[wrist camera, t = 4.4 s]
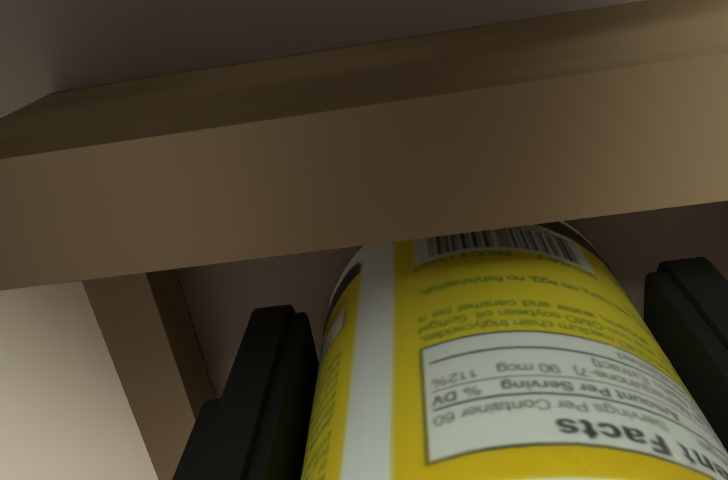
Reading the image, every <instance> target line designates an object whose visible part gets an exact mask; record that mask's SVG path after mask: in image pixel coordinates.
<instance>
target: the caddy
mask: <svg viewBox="0 0 728 480" xmlns="http://www.w3.org/2000/svg"><path fill="white" fill-rule="evenodd" d="M719 201H728V0H645V1H639V2H632V3H626V4H619V5H613V6H607V7H600V8H594V9H587V10H581V11H575V12H568V13H562V14H555V15H549V16H543V17H536V18H530V19H523V20H517V21H511V22H504V23H498V24H491V25H485V26H479V27H472V28H466V29H460V30H453V31H447V32H440V33H434V34H428V35H421V36H415V37H408V38H402V39H396V40H389V41H383V42H376V43H370V44H364V45H357V46H351V47H344V48H338V49H332V50H325V51H319V52H312V53H306V54H300V55H293V56H287V57H280V58H274V59H268V60H261V61H255V62H248V63H242V64H236V65H229V66H223V67H216V68H210V69H204V70H197V71H191V72H184V73H178V74H172V75H165V76H159V77H153V78H146V79H140V80H133V81H127V82H121V83H114V84H108V85H101V86H95V87H89V88H82V89H76V90H69V91H63V92H57V93H51V94H49V95H47V96H45V97H43V98H41V99H39V100H37V101H35V102H33V103H31V104H29V105H27V106H25V107H23V108H21V109H19V110H17V111H15V112H13V113H11V114H9V115H7V116H5V117H3V118H1V119H0V290H8V289H16V288H24V287H32V286H40V285H48V284H57V283H65V282H73V281H81V280H82V283H83V285H84V288H85V291H86V293H87V296H88V298H89V301H90V304H91V306H92V309H93V311H94V314H95V316H96V319H97V322H98V324H99V327H100V329H101V332H102V334H103V337H104V340H105V342H106V345H107V347H108V350H109V353H110V355H111V358H112V360H113V363H114V365H115V368H116V371H117V373H118V376H119V378H120V381H121V384H122V386H123V389H124V391H125V394H126V396H127V399H128V402H129V404H130V407H131V409H132V412H133V415H134V417H135V420H136V422H137V425H138V427H139V430H140V433H141V435H142V438H143V440H144V443H145V445H146V448H147V451H148V453H149V456H150V458H151V461H152V464H153V466H154V469H155V471H156V474H157V476H158V479H159V480H172V479H173V476H174V474H175V471H176V469H177V466H178V464H179V461H180V459H181V456H182V454H183V451H184V449H185V446H186V444H187V441H188V439H189V436H190V434H191V431H192V429H193V426H194V424H195V421H196V419H197V416H198V414H199V411H200V409H201V407H202V406H203V404H204V402H206V401H207V400H209V399H216V398H215V395H214V392H213V389H212V386H211V382H210V379H209V376H208V373H207V370H206V367H205V363H204V360H203V357H202V354H201V351H200V348H199V345H198V341H197V338H196V335H195V332H194V329H193V326H192V322H191V319H190V316H189V313H188V310H187V307H186V303H185V300H184V297H183V294H182V291H181V288H180V284H179V281H178V278H177V275H176V272H175V269H178V268H186V267H194V266H202V265H210V264H218V263H226V262H234V261H242V260H251V259H259V258H267V257H275V256H283V255H291V254H299V253H307V252H315V251H323V250H331V249H340V248H348V247H356V246H364V245H372V244H380V243H388V242H396V241H404V240H412V239H420V238H428V237H437V236H445V235H453V234H461V233H469V232H477V231H485V230H493V229H501V228H509V227H517V226H525V225H534V224H542V223H550V222H558V221H566V220H574V219H582V218H590V217H598V216H606V215H614V214H622V213H631V212H639V211H647V210H655V209H663V208H671V207H679V206H687V205H695V204H703V203H711V202H719Z"/></svg>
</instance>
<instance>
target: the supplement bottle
mask: <svg viewBox="0 0 728 480" xmlns="http://www.w3.org/2000/svg"><path fill="white" fill-rule="evenodd" d="M301 480H728V453H727V451H726V449H725V448H724V446H723V445H722V443H721V441H720V440H719V438H718V437H717V435H716V434H715V432H714V430H713V429H712V427H711V426H710V424H709V422H708V421H707V419H706V418H705V416H704V414H703V413H702V411H701V410H700V408H699V407H698V405H697V403H696V402H695V400H694V399H693V397H692V396H691V394H690V393H689V391H688V390H687V388H686V387H685V385H684V384H683V382H682V380H681V379H680V377H679V376H678V374H677V372H676V371H675V369H674V368H673V366H672V365H671V363H670V361H669V360H668V358H667V357H666V355H665V353H664V352H663V350H662V349H661V347H660V346H659V344H658V343H657V341H656V339H655V338H654V336H653V335H652V333H651V332H650V330H649V328H648V327H647V325H646V324H645V322H644V321H643V319H642V318H641V316H640V314H639V313H638V311H637V310H636V308H635V307H634V305H633V304H632V302H631V300H630V299H629V297H628V296H627V294H626V293H625V291H624V290H623V288H622V287H621V285H620V283H619V282H618V280H617V278H616V277H615V275H614V274H613V272H612V270H611V269H610V267H609V266H608V264H607V263H606V262H605V260H604V259H603V258H602V256H601V255H600V253H599V252H598V251H597V250H596V249H595V248H594V246H593V245H592V244H591V243H590V242H589V241H588V240H587V239H586V238H585V237H584V236H583V235H582V234H581V233H579V232H578V231H577V230H576V229H574V228H573V227H572V226H570V225H569V224H567V223H566V222H564V221H558V222H550V223H542V224H534V225H525V226H517V227H509V228H501V229H493V230H485V231H477V232H469V233H461V234H453V235H445V236H437V237H428V238H420V239H412V240H404V241H396V242H388V243H380V244H372V245H364V246H362V248H361V249H360V250H359V251H358V252H357V253H356V254H355V255H354V257H353V258H352V259H351V261H350V262H349V264H348V265H347V267H346V268H345V270H344V271H343V273H342V275H341V276H340V278H339V280H338V282H337V285H336V287H335V289H334V291H333V294H332V297H331V300H330V304H329V309H328V314H327V318H326V322H325V327H324V336H323V342H322V348H321V355H320V361H319V367H318V373H317V380H316V386H315V392H314V398H313V404H312V411H311V417H310V424H309V430H308V436H307V443H306V449H305V456H304V462H303V468H302V474H301Z"/></svg>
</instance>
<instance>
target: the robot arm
mask: <svg viewBox="0 0 728 480" xmlns="http://www.w3.org/2000/svg"><path fill="white" fill-rule="evenodd" d="M644 322H645V324H646V325H647V327H648V328H649V330H650V332H651V333H652V335H653V336H654V338H655V339H656V341H657V343H658V344H659V346H660V347H661V349H662V350H663V352H664V353H665V355H666V357H667V358H668V360H669V361H670V363H671V365H672V366H673V368H674V369H675V371H676V372H677V374H678V376H679V377H680V379H681V380H682V382H683V384H684V385H685V387H686V388H687V390H688V391H689V393H690V394H691V396H692V397H693V399H694V400H695V402H696V403H697V405H698V407H699V408H700V410H701V411H702V413H703V414H704V416H705V418H706V419H707V421H708V422H709V424H710V426H711V427H712V429H713V430H714V432H715V434H716V435H717V437H718V438H719V440H720V441H721V443H722V445H723V446H724V448H725V449H726V451H727V453H728V281H727V280H726V279H725V278H724V277H723V276H722V275H721V274H720V273H719V272H718V270H717V269H716V268H715V267H714V266H713V265H712V264H711V263H710V262H709V261H708V260H707V259H706V258H705V257H697V258H688V259H679V260H671V261H662V262H661V263H660V264H659V266H658V269H657V272H654V273H648V274H647V275H646V278H645V289H644ZM318 367H319V362H318V357H317V353H316V349H315V344H314V340H313V335H312V331H311V327H310V322H309V319H308V316H307V314H306V313H305V312H303V313H295V310H294V308H293V306H292V305H291V304H290V305H281V306H272V307H264V308H256V309H254V310H253V312H252V315H251V317H250V320H249V323H248V326H247V328H246V331H245V334H244V337H243V339H242V342H241V345H240V347H239V350H238V353H237V356H236V358H235V361H234V364H233V367H232V369H231V372H230V375H229V377H228V380H227V383H226V386H225V388H224V391H223V394H222V397H221V398H217V399H209V400H207V401H206V402H204V404H203V406H202V407H201V409H200V411H199V414H198V416H197V419H196V421H195V424H194V426H193V429H192V431H191V434H190V436H189V439H188V441H187V444H186V446H185V449H184V451H183V454H182V456H181V459H180V461H179V464H178V466H177V469H176V471H175V474H174V476H173V479H172V480H301V474H302V468H303V462H304V456H305V449H306V443H307V436H308V430H309V424H310V417H311V411H312V404H313V398H314V392H315V386H316V380H317V373H318Z"/></svg>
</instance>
